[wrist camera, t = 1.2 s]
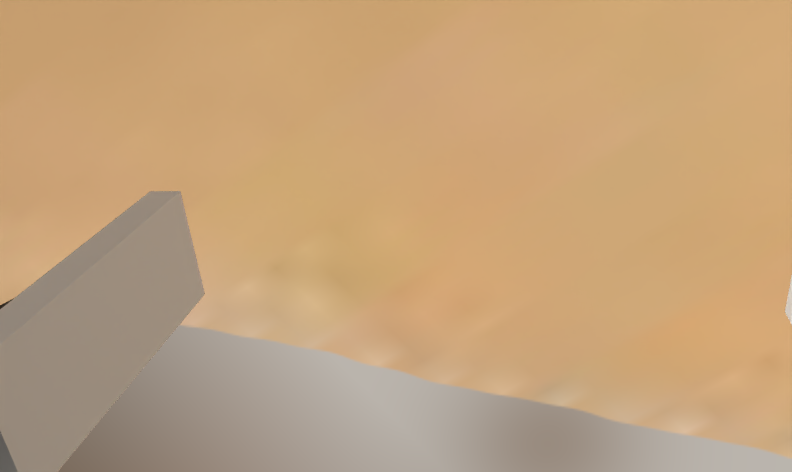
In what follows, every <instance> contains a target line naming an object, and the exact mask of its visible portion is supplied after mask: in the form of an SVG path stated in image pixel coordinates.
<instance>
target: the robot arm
mask: <svg viewBox="0 0 792 472" xmlns="http://www.w3.org/2000/svg"><path fill="white" fill-rule="evenodd" d="M204 294H205V293H204V289H203V285H202V280H201V276H200V272H199V268H198V264H197V259H196V255H195V251H194V247H193V243H192V238H191V234H190V230H189V226H188V222H187V217H186V213H185V209H184V205H183V201H182V196H181V192H180V191H150V192H149V193H148V194H146V195H145V196H144V197H142V198H141V199H140V200H139V201H137V202H136V203H135V204H134V205H132V206H131V207H130V208H128V209H127V210H126V211H125V212H123V213H122V214H121V215H120V216H118V217H117V218H116V219H115V220H113V221H112V222H111V223H109V224H108V225H107V226H106V227H104V228H103V229H102V230H101V231H99V232H98V233H97V234H95V235H94V236H93V237H92V238H90V239H89V240H88V241H87V242H85V243H84V244H83V245H81V246H80V247H79V248H78V249H76V250H75V251H74V252H73V253H71V254H70V255H69V256H67V257H66V258H65V259H64V260H62V261H61V262H60V263H59V264H57V265H56V266H55V267H53V268H52V269H51V270H50V271H48V272H47V273H46V274H45V275H43V276H42V277H41V278H40V279H38V280H37V281H36V282H34V283H33V284H32V285H31V286H29V287H28V288H27V289H26V290H24V291H23V292H22V293H20V294H19V295H18V296H17V297H15V298H14V299H12V300H10V301H8V302H6V303H4V304H2V305H0V472H58V471H59V469H60V468H61V467H62V466H63V464H64V463H65V462H66V461H67V460H68V458H69V457H70V456H71V455H72V454H73V452H74V451H75V450H76V449H77V447H78V446H79V445H80V444H81V443H82V441H83V440H84V439H85V438H86V437H87V436H88V434H89V433H90V432H91V430H92V429H93V428H94V427H95V426H96V425H97V423H98V422H99V421H100V420H101V419H102V417H103V416H104V415H105V414H106V413H107V411H108V410H109V409H110V407H112V405H113V404H114V403H115V402H116V401H117V399H118V398H119V397H120V396H121V395H122V393H123V392H124V391H125V390H126V388H127V387H128V386H129V385H130V383H131V382H132V381H133V380H134V379H135V377H136V376H137V375H138V374H139V373H140V372H141V370H142V369H143V368H144V367H145V366H146V364H147V363H148V362H149V361H150V360H151V358H152V357H153V356H154V355H155V353H156V352H157V351H158V350H159V349H160V347H161V346H162V345H163V344H164V343H165V341H166V340H167V339H168V338H169V337H170V335H171V334H172V333H173V332H174V330H175V329H176V328H177V327H178V326H179V325H180V323H181V322H182V321H183V320H184V319H185V317H186V316H187V315H188V314H189V312H190V311H191V310H192V309H193V308H194V306H195V305H196V304H197V303H198V302H199V300H200V299H201V298H202V297H203V296H204ZM785 313H786V315H787V317H788V319H789V320H790V322H791V324H792V277H791V283H790V288H789V293H788V299H787V304H786V309H785Z"/></svg>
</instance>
